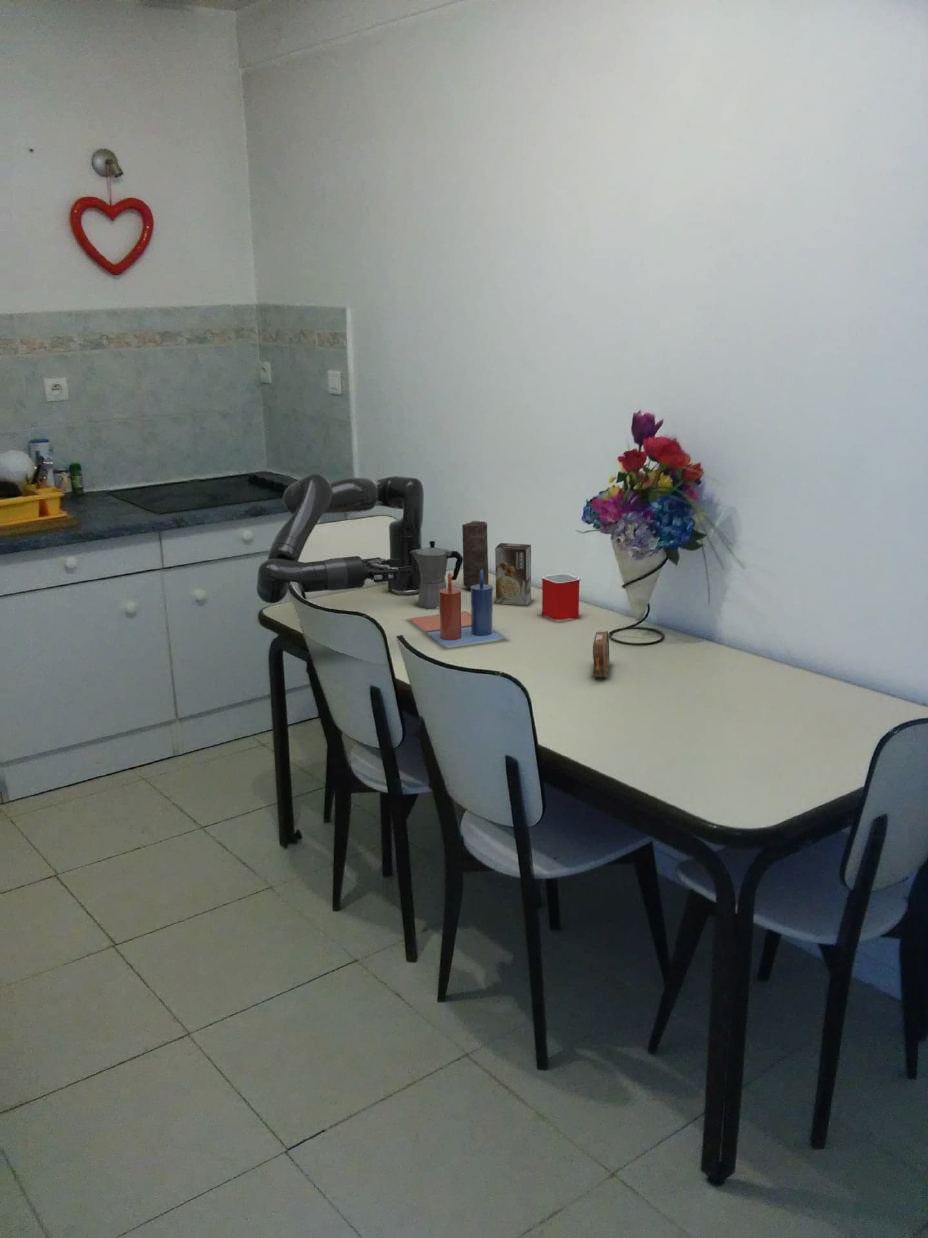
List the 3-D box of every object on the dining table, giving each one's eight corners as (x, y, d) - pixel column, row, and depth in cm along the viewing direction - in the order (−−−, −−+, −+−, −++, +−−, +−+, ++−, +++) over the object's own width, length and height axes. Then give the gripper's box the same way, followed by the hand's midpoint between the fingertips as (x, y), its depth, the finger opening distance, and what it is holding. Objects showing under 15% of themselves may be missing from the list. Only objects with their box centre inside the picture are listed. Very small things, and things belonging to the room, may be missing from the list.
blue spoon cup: (467, 634, 268) (467, 571, 263) (475, 628, 273) (475, 566, 268) (487, 637, 266) (487, 573, 261) (495, 630, 271) (495, 568, 266)
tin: (605, 683, 235) (606, 646, 233) (590, 682, 236) (591, 646, 234) (609, 661, 250) (611, 626, 247) (596, 660, 250) (597, 625, 248)
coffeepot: (404, 606, 295) (403, 542, 289) (417, 597, 303) (416, 535, 298) (457, 611, 290) (456, 546, 284) (468, 602, 298) (468, 539, 293)
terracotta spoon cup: (436, 639, 265) (435, 574, 260) (445, 632, 270) (444, 569, 265) (456, 641, 263) (455, 576, 258) (464, 635, 268) (464, 571, 263)
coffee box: (532, 599, 300) (532, 544, 295) (526, 606, 294) (527, 549, 289) (500, 597, 302) (500, 542, 298) (494, 603, 297) (494, 547, 292)
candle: (470, 593, 307) (469, 525, 301) (458, 587, 313) (457, 520, 307) (493, 590, 310) (493, 522, 305) (480, 584, 317) (480, 518, 311)
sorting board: (445, 649, 259) (445, 646, 259) (409, 620, 282) (408, 617, 282) (505, 640, 265) (505, 637, 265) (464, 613, 288) (464, 610, 288)
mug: (582, 617, 283) (583, 579, 280) (557, 622, 279) (557, 583, 276) (555, 607, 293) (555, 569, 290) (530, 612, 288) (530, 573, 285)
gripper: (350, 564, 243) (416, 557, 249) (332, 551, 256) (396, 545, 262) (351, 596, 245) (417, 588, 251) (334, 581, 258) (397, 575, 264)
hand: (406, 566), depth 256 cm, fingers open, 8 cm apart
